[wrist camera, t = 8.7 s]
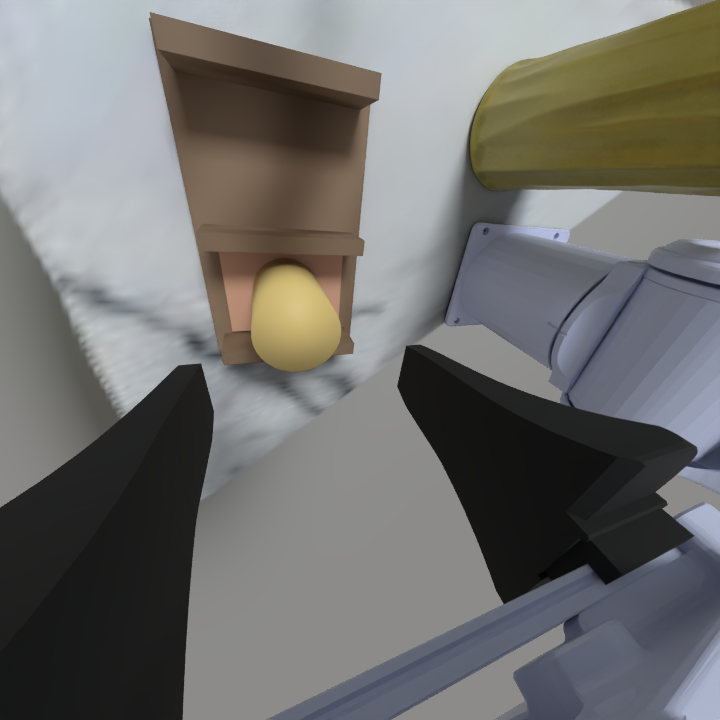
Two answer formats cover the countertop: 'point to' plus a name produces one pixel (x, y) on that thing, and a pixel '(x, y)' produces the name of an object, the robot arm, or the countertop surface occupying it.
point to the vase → (609, 113)
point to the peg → (292, 317)
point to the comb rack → (266, 166)
